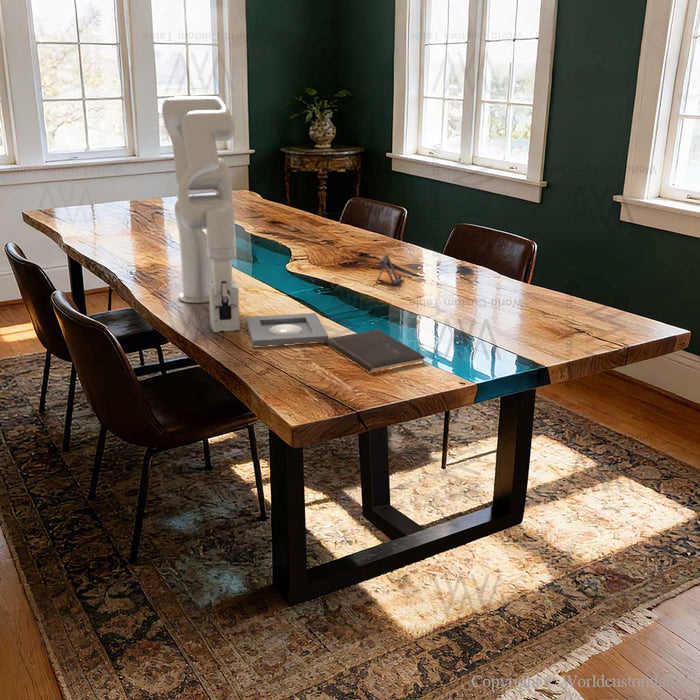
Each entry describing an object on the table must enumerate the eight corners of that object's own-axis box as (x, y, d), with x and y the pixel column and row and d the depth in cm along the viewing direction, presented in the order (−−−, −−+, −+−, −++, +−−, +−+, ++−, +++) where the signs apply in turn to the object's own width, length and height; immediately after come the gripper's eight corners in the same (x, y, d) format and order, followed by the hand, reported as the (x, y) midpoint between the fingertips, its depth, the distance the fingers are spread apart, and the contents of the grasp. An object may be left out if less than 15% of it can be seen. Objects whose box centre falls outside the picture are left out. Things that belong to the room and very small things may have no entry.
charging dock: (245, 323, 225) (245, 317, 224) (315, 319, 229) (315, 313, 228) (253, 347, 206) (252, 340, 206) (328, 342, 210) (328, 335, 210)
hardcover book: (378, 337, 217) (378, 329, 216) (425, 365, 198) (425, 356, 197) (326, 346, 209) (326, 338, 209) (369, 376, 191) (369, 367, 190)
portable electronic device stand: (397, 286, 262) (398, 262, 259) (374, 285, 264) (375, 260, 261) (401, 279, 270) (402, 255, 267) (378, 278, 272) (379, 254, 269)
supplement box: (213, 333, 217) (211, 289, 212) (210, 324, 223) (207, 281, 219) (240, 331, 219) (238, 287, 214) (236, 322, 225) (234, 279, 221)
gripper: (206, 245, 220) (209, 305, 227) (209, 261, 205) (212, 325, 211) (233, 244, 222) (235, 304, 228) (238, 260, 206) (240, 324, 212)
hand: (224, 314), depth 220 cm, fingers closed on supplement box, 7 cm apart
